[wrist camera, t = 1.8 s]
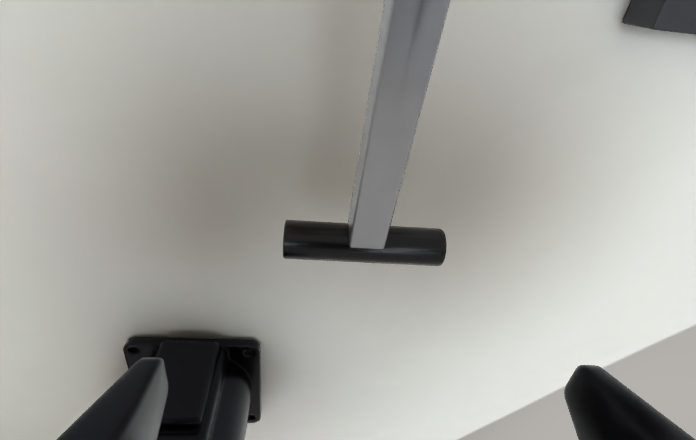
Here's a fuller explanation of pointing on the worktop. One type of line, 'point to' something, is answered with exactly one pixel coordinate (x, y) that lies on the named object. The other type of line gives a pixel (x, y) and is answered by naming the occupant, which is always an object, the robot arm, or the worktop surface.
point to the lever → (384, 150)
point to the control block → (663, 15)
